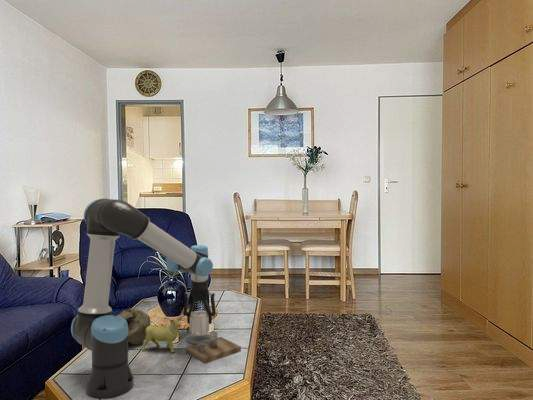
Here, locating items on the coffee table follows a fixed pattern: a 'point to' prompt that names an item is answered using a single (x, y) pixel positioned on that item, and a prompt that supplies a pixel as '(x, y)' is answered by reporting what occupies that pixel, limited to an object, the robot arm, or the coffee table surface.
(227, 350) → the lock base
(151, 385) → the coffee table surface
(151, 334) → the toy
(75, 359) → the coffee table surface
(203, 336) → the coaster
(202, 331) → the grey rounded block
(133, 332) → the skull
